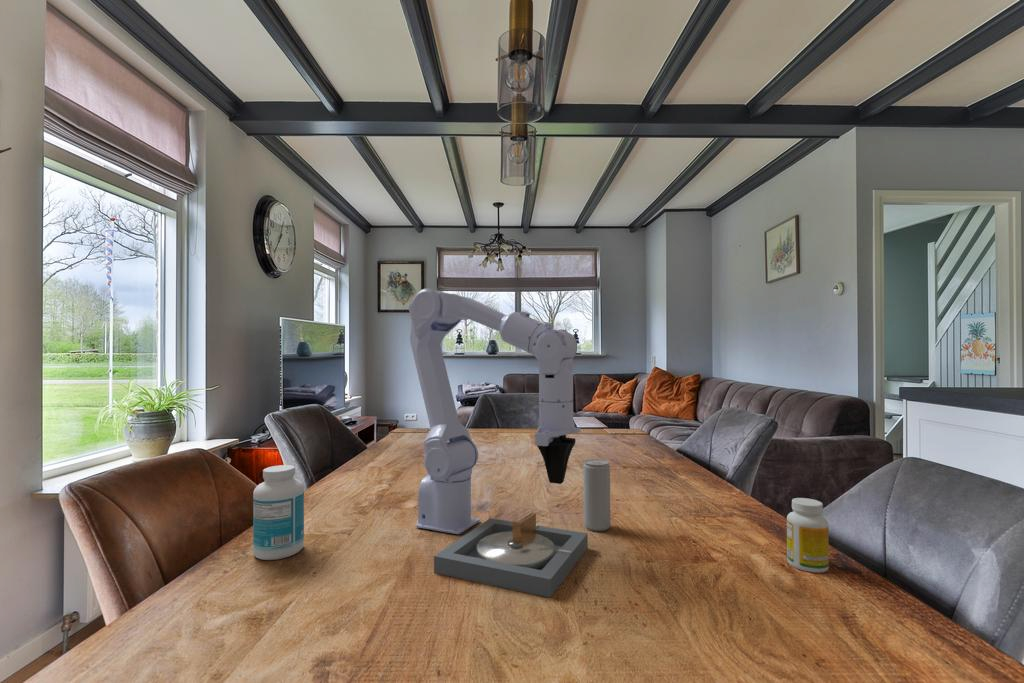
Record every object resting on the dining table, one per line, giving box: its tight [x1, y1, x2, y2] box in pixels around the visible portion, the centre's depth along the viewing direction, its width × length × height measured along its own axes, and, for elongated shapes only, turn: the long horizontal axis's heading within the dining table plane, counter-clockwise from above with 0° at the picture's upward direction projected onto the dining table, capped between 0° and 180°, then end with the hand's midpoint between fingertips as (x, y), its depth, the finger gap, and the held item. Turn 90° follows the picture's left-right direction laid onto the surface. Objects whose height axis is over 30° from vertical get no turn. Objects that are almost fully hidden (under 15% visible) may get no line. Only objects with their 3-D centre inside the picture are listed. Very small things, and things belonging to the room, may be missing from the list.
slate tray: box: [433, 517, 589, 599], centre depth 75 cm, size 18×18×3 cm
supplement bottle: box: [786, 497, 830, 574], centre depth 73 cm, size 5×5×10 cm
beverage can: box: [582, 458, 611, 532], centre depth 89 cm, size 5×5×12 cm
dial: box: [477, 511, 554, 569], centre depth 75 cm, size 12×12×5 cm
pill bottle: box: [252, 464, 305, 561], centre depth 78 cm, size 8×7×14 cm
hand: (556, 482), depth 81 cm, fingers closed
